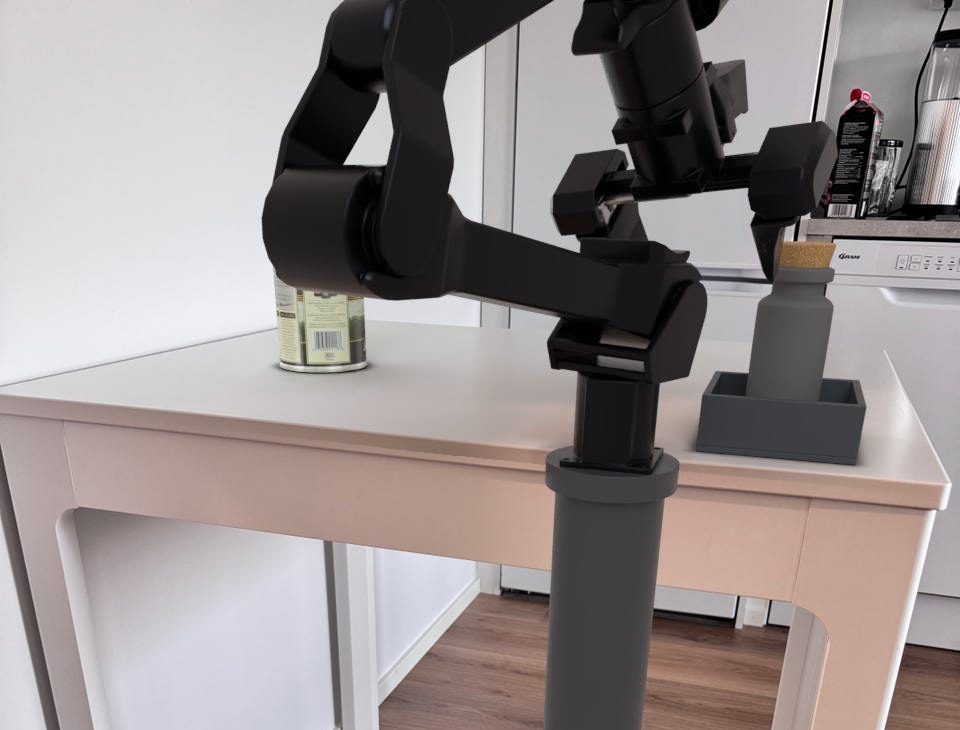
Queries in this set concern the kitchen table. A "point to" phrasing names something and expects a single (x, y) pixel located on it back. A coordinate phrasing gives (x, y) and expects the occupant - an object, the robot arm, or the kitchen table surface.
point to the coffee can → (319, 330)
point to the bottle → (793, 326)
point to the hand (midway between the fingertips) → (712, 280)
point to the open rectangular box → (782, 421)
